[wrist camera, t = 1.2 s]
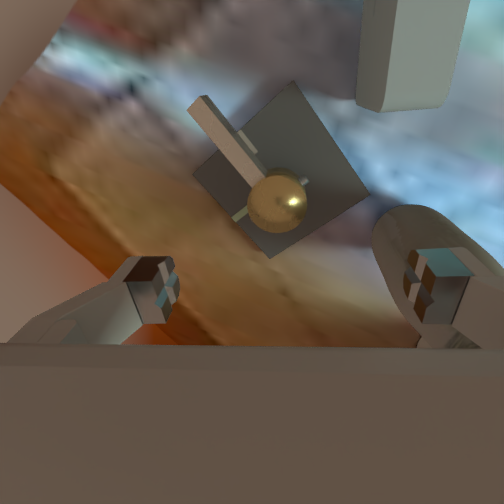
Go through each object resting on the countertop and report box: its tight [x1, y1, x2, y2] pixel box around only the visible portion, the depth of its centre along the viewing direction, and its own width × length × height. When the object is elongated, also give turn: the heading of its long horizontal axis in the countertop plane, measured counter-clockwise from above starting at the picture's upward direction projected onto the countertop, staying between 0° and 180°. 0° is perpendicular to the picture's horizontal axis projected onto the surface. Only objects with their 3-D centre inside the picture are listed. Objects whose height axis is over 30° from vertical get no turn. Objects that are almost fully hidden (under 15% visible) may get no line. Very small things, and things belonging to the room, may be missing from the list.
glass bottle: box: [371, 204, 504, 349], centre depth 32 cm, size 10×10×28 cm
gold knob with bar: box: [187, 95, 309, 233], centre depth 33 cm, size 18×9×4 cm, turn 41°
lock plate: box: [192, 80, 370, 259], centre depth 40 cm, size 18×18×6 cm
